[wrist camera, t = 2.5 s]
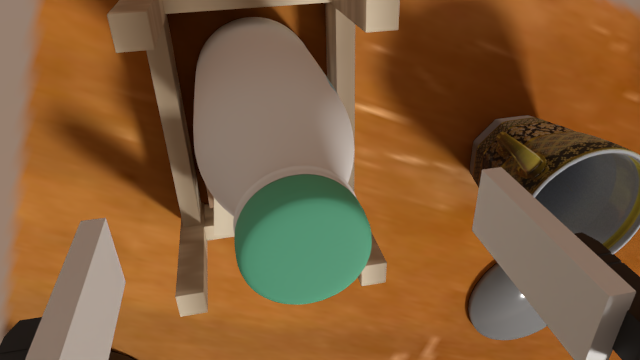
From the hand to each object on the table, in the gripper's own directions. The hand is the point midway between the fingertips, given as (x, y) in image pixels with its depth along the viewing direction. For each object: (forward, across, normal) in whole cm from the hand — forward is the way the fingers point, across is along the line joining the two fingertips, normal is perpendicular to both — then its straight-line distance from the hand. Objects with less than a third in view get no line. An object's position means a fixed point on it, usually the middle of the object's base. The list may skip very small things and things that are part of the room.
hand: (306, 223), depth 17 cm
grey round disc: (+18, +25, -26) cm, 40 cm away
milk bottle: (+19, 0, 0) cm, 19 cm away
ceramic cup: (+19, +19, -8) cm, 28 cm away
